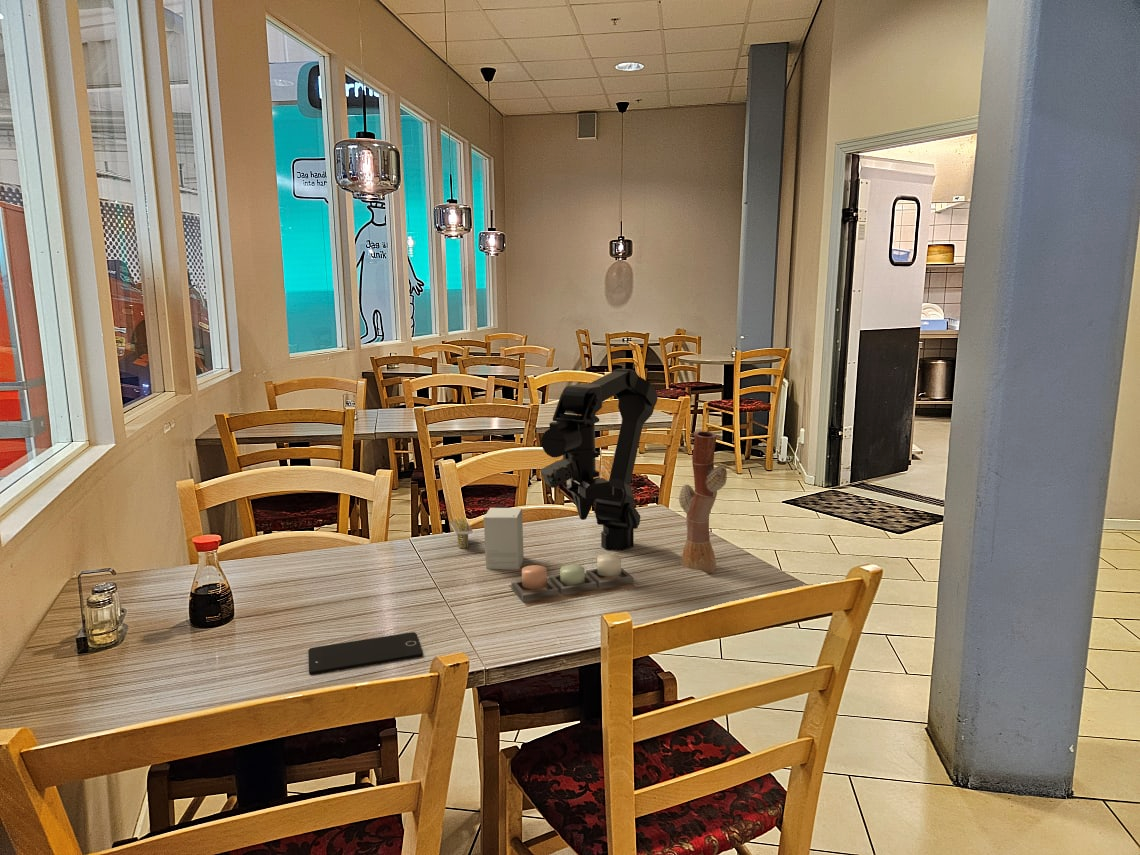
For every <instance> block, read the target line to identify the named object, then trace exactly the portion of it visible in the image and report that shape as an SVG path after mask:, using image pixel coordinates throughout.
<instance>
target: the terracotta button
mask: <svg viewBox="0 0 1140 855" xmlns="http://www.w3.org/2000/svg"><path fill="white" fill-rule="evenodd" d="M547 579H548V577H547V567H545V566H543V565H537V564H536V565H535V564H532V565H527V566H524V567H523V568H521V580H522V586H523V587H525V588H528V589H540V588H543V587H545V586H546V585H547Z"/></svg>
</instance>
